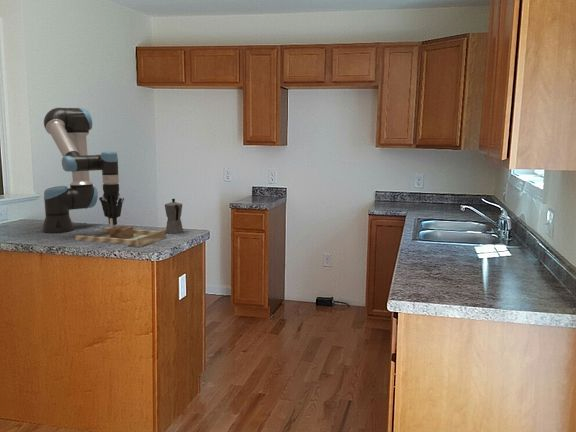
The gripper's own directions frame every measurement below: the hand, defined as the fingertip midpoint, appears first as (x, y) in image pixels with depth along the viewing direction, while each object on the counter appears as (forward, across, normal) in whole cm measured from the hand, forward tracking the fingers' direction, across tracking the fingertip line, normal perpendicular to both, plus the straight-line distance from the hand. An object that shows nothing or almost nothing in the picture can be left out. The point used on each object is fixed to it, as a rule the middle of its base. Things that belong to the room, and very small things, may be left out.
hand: (113, 231), depth 263 cm
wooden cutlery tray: (+4, +4, 0) cm, 6 cm away
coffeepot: (+4, +20, +24) cm, 32 cm away
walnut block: (+3, +5, 0) cm, 6 cm away
